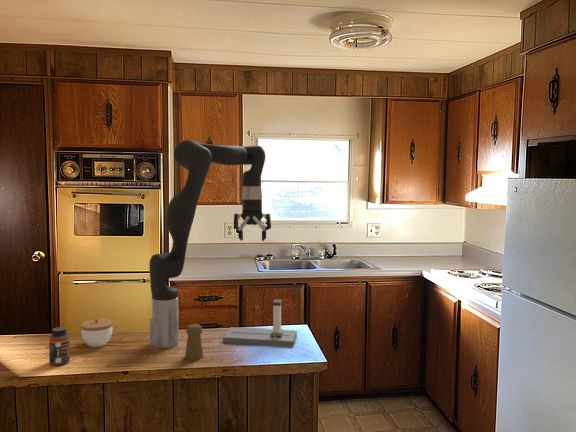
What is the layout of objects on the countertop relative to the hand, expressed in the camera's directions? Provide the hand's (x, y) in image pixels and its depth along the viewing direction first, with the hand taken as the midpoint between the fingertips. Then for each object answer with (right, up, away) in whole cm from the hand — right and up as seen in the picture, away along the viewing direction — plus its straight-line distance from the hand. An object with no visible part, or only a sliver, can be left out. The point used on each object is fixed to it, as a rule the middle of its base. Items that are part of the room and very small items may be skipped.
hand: (252, 240), depth 184 cm
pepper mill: (-18, -38, -23) cm, 48 cm away
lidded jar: (-55, -37, -12) cm, 67 cm away
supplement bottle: (-60, -38, -30) cm, 77 cm away
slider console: (+3, -37, -4) cm, 37 cm away
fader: (+10, -35, -5) cm, 36 cm away
